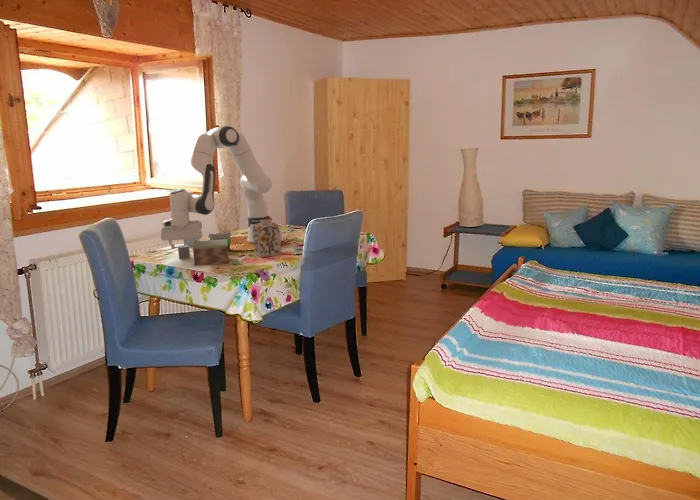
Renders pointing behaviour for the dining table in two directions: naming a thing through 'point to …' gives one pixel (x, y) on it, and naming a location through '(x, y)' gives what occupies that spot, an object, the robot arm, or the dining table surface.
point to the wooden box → (210, 256)
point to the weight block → (184, 252)
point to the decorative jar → (266, 239)
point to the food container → (221, 237)
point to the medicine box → (189, 241)
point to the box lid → (210, 244)
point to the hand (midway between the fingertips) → (182, 247)
